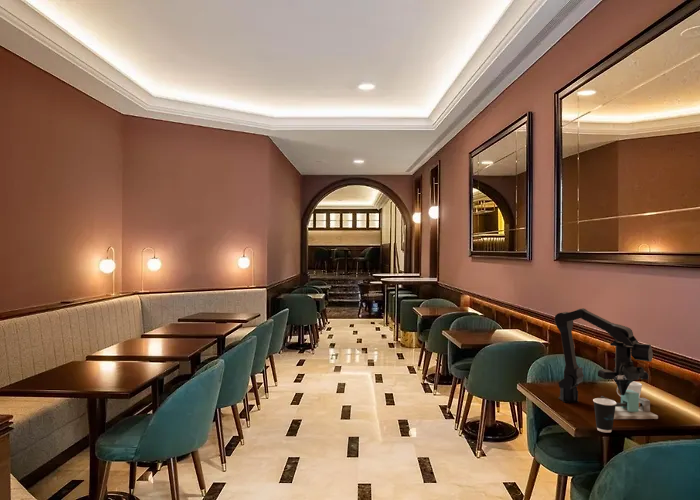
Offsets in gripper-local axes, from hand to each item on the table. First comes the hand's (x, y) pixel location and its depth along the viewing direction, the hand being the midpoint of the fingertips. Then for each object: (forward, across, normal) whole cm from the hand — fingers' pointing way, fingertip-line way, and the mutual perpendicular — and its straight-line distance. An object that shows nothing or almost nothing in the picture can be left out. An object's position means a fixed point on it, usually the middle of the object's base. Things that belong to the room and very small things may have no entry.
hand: (622, 395), depth 208 cm
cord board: (+8, +2, 0) cm, 8 cm away
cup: (+8, +13, +17) cm, 23 cm away
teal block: (+6, +3, 0) cm, 7 cm away
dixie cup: (+8, -18, -19) cm, 28 cm away
